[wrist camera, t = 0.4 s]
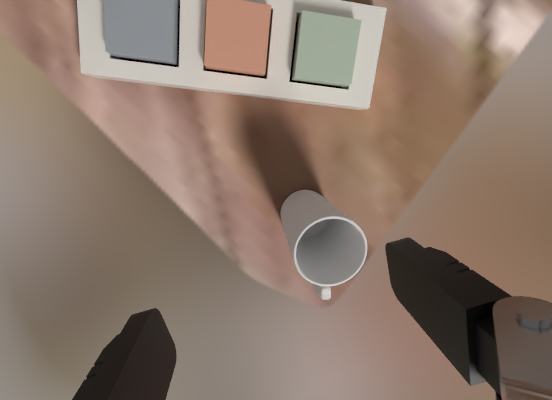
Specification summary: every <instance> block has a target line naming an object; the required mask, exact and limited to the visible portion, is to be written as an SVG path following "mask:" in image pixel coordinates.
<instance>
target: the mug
mask: <svg viewBox="0 0 552 400" xmlns="http://www.w3.org/2000/svg"><path fill="white" fill-rule="evenodd" d="M280 215H281V221H282V225H283V228H284V231H285V234H286V238H287V241H288V244H289V247H290V251H291V254H292V257H293V259H294V262H295V265H296V268H297V270H298V271H299V273H300V274H301V275H302V276H303V277H304V278H305V279H306V280H307V281H309V282H311V283H312V284H313V287H314V289H315V291H316V292H317V294H318V295H319V296H321V298H322V299H324V300H326V299H330V297H331V289H330V286H335V285H338V284H341V283H344V282H346V281H347V280H349V279H350V278H352V277H353V276H354V275H355V274H356V273H357V272H358V271H359V270H360V268H361V267H362V265H363V263H364V261H365V258H366V254H367V241H366V237H365V235H364V233H363V231H362V230H361V228H360V227H359V226H358V225H357V224H356V223H355V222H353V221H352V220H351V219H350V218H349V217H348V216H346V215H345V214H344V213H343V212H341V211H340V210H339V209H338V208H336V207H335V206H334V205H333V204H331V203H330V202H329V201H328V200H326V199H325V198H324V197H322V196H321V195H320V194H318V193H317V192H314V191H311V190H300V191H296V192H294V193H292V194H291V195H290V196H288V197H287V198H286V200H285V201H284V203H283V205H282V207H281V213H280Z"/></svg>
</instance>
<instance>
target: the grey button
mask: <svg viewBox="0 0 552 400" xmlns="http://www.w3.org/2000/svg"><path fill="white" fill-rule="evenodd" d="M104 25H105V52H107V53H109V54H111V55H113V56H115V57H121V58H129V59H136V60H144V61H152V62H159V63H167V64H174V65H177V37H178V0H104Z"/></svg>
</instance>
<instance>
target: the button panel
mask: <svg viewBox="0 0 552 400" xmlns="http://www.w3.org/2000/svg"><path fill="white" fill-rule="evenodd" d="M243 1H249V2H255V3H261V4H268V5H271V16H270V18H271V25H270V36H269V47H268V58H267V69H266V79H263V78H256V77H248V76H241V75H233V74H225V73H218V72H210V71H206V67H205V65H204V55H205V30H206V5H207V0H178V3H180V35H179V67H172V66H164V65H157V64H149V63H141V62H134V61H126V60H120V57H115V56H113V55H111V54H109V53H107V52H105V25H104V0H77V9H78V27H79V45H80V63H81V73H82V74H85V75H88V76H91V77H95V78H103V79H111V80H119V81H127V82H136V83H144V84H152V85H160V86H168V87H177V88H185V89H193V90H201V91H209V92H217V93H226V94H234V95H242V96H250V97H258V98H267V99H275V100H283V101H291V102H299V103H308V104H316V105H324V106H332V107H340V108H349V109H357V110H363V109H369V106H370V101H371V95H372V89H373V84H374V78H375V72H376V66H377V61H378V55H379V49H380V44H381V38H382V32H383V27H384V21H385V15H386V10H387V8H383V7H377V6H371V5H365V4H360V3H354V2H348V1H342V0H243ZM302 10H304V11H310V12H316V13H322V14H328V15H334V16H340V17H346V18H353V19H359V20H361V27H360V33H359V39H358V46H357V52H356V58H355V65H354V71H353V77H352V84H351V85H349V86H346V87H342V89H340V88H332V87H325V86H317V85H309V84H302V83H294V82H289V80H290V71H291V62H292V53H293V44H294V34H295V25H296V22H298V18H299V16H300V14H301V12H302Z"/></svg>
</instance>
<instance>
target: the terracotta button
mask: <svg viewBox="0 0 552 400" xmlns="http://www.w3.org/2000/svg"><path fill="white" fill-rule="evenodd" d="M270 16H271V5H268V4H261V3H255V2H249V1H243V0H207V5H206V30H205V55H204V65H205V67H206V68H207V69H212V70H220V71H227V72H235V73H243V74H250V75H258V76H264V75H265V72H266V60H267V49H268V38H269V27H270Z"/></svg>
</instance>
